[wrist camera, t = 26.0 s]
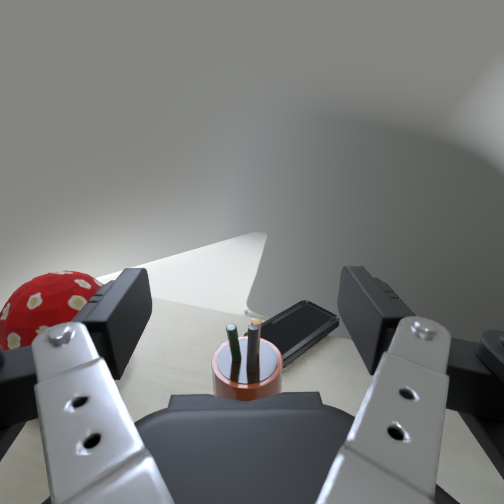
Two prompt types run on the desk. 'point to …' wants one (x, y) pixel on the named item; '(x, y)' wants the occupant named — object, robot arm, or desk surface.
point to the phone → (298, 329)
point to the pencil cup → (247, 366)
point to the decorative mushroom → (44, 306)
